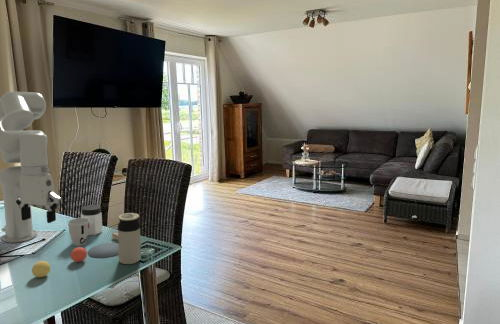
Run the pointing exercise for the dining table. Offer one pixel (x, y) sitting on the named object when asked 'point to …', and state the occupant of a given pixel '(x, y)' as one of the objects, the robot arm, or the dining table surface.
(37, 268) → the ochre ball
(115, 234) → the wooden stick
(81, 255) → the red ball
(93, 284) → the dining table surface
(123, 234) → the travel mug
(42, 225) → the dining table surface
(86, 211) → the jar
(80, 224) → the cup
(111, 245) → the slate mark
